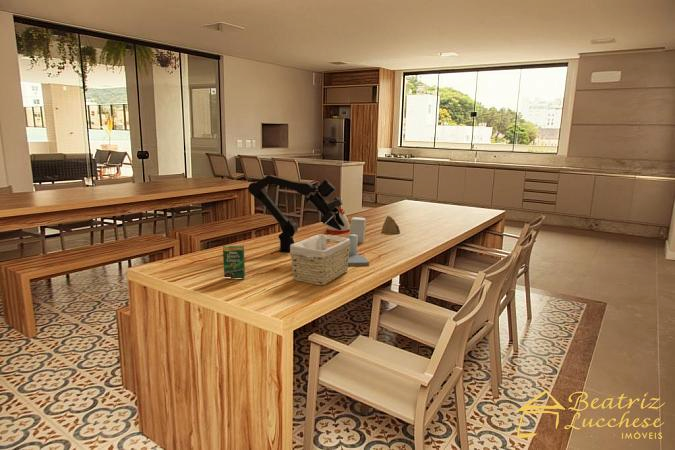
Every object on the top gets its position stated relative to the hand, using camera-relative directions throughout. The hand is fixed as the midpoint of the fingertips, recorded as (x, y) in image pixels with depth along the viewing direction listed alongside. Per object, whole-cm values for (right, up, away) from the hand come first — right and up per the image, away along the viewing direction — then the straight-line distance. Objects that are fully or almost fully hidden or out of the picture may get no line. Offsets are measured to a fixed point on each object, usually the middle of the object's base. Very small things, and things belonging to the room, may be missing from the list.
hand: (342, 227), depth 208 cm
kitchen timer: (-2, -2, +55) cm, 55 cm away
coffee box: (-43, -20, -37) cm, 60 cm away
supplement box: (+9, -8, +31) cm, 33 cm away
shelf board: (+4, -16, -9) cm, 19 cm away
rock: (+30, -4, +54) cm, 62 cm away
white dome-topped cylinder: (+5, -13, +2) cm, 14 cm away
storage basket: (-9, -20, -30) cm, 37 cm away
